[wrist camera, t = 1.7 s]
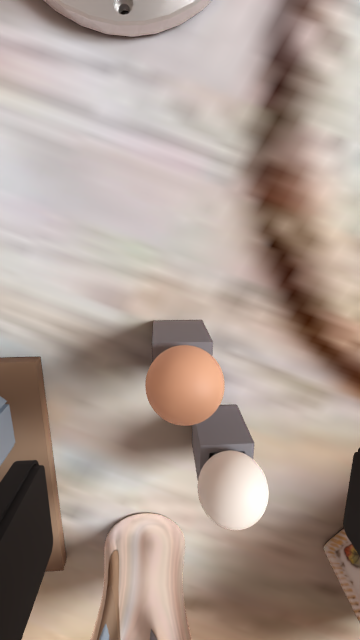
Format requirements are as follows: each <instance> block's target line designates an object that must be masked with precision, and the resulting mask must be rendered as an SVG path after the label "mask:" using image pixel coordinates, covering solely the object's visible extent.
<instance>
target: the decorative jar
mask: <svg viewBox="0 0 360 640" xmlns="http://www.w3.org/2000/svg"><path fill="white" fill-rule="evenodd" d="M324 551H325V553H326V556H327V558H328V560H329V563H330V564H331V567H332V569H333V570H334V573H335V574H336V577H337V579H338V580H339V583H340V585H341V586H342V589H343V591H344V592H345V595H346V597H347V598H348V601H349V602H350V604H351V606H352V609H353V611H354V612H355V614H356V617H357V618H358V620H359V622H360V556H359V554H358V553H357V551H356V550H355V548H354V547H353V545H352V543H351V542H350V540H349V539H348V537H347V535H346V533H345V530H344V529H342V530H341V531H340V532H339V533H337V534H336V535H335V536H334V537H333V538H331V539H330V540H329V541H328V542H327V543H326V544H325V546H324Z"/></svg>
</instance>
